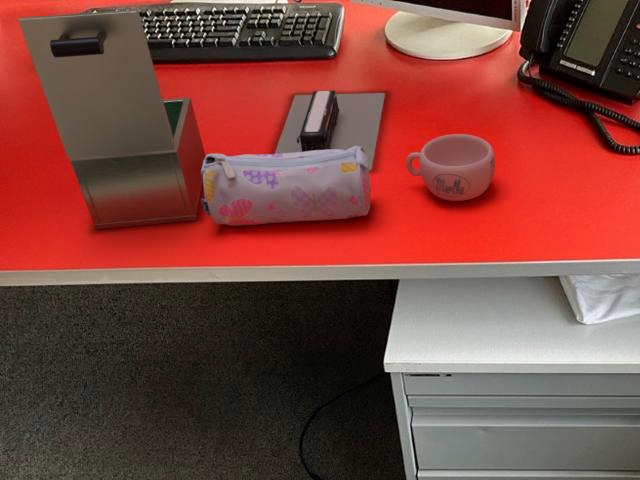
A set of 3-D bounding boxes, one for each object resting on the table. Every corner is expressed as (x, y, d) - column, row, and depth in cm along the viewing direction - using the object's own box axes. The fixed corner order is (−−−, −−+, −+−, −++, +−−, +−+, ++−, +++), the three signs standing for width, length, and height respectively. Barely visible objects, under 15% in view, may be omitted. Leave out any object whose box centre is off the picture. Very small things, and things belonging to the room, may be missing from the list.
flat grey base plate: (268, 172, 125) (262, 145, 122) (295, 95, 143) (290, 69, 141) (371, 170, 125) (368, 142, 122) (385, 93, 143) (382, 67, 141)
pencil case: (207, 237, 113) (189, 169, 106) (221, 201, 119) (204, 135, 113) (373, 231, 113) (364, 164, 107) (377, 196, 120) (369, 130, 113)
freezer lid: (19, 17, 98) (6, 33, 94) (138, 9, 99) (130, 24, 95) (69, 156, 108) (59, 175, 104) (175, 147, 109) (170, 166, 105)
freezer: (116, 170, 126) (94, 104, 120) (207, 162, 127) (190, 97, 121) (95, 229, 115) (69, 160, 108) (196, 220, 116) (176, 151, 109)
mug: (501, 174, 123) (500, 134, 119) (488, 212, 116) (487, 171, 112) (416, 168, 125) (413, 129, 121) (399, 205, 118) (394, 165, 114)
